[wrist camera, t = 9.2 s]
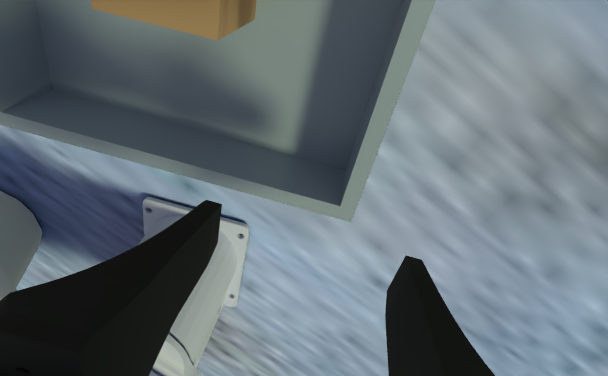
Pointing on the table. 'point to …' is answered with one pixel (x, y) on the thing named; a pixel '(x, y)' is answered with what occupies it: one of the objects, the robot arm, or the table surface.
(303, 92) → the slate bin
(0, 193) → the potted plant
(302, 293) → the table surface
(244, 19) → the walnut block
